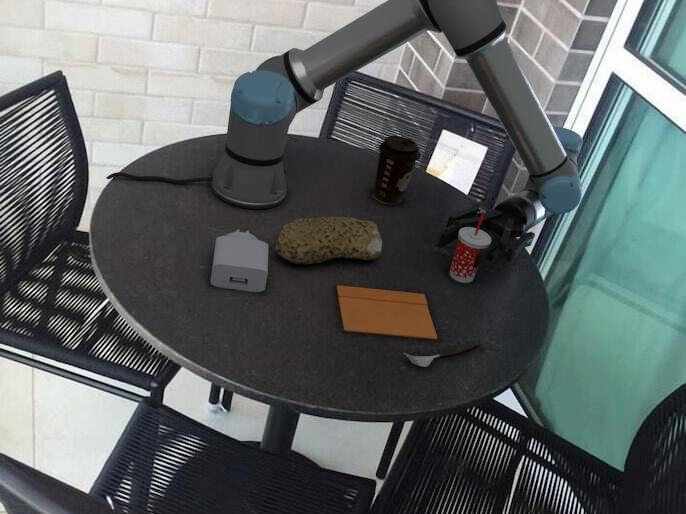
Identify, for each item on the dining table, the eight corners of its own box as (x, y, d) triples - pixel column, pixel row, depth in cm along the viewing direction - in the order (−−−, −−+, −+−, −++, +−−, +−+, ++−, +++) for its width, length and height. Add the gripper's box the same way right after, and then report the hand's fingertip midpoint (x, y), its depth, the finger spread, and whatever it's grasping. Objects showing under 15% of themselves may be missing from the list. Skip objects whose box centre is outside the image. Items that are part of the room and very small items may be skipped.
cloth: (344, 331, 133) (344, 328, 133) (336, 287, 143) (336, 285, 142) (437, 339, 136) (438, 336, 135) (423, 296, 145) (424, 293, 145)
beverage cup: (463, 264, 157) (485, 202, 149) (483, 282, 153) (507, 219, 145) (439, 268, 154) (460, 205, 146) (458, 287, 150) (480, 223, 142)
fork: (484, 351, 135) (488, 342, 134) (408, 371, 128) (412, 362, 126) (475, 342, 137) (478, 332, 136) (399, 361, 129) (402, 351, 128)
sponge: (363, 242, 159) (268, 217, 152) (381, 214, 154) (284, 186, 147) (372, 291, 150) (271, 267, 143) (391, 263, 145) (288, 236, 138)
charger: (265, 245, 150) (264, 293, 137) (215, 238, 149) (209, 286, 136) (269, 223, 147) (268, 270, 135) (218, 216, 146) (212, 263, 134)
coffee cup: (407, 193, 177) (422, 139, 170) (407, 211, 170) (423, 156, 163) (368, 184, 177) (382, 130, 170) (366, 202, 170) (380, 147, 163)
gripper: (555, 253, 159) (499, 295, 143) (470, 208, 168) (408, 243, 152) (569, 221, 155) (513, 260, 139) (480, 176, 164) (419, 208, 148)
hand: (458, 251), depth 146 cm, fingers open, 7 cm apart
